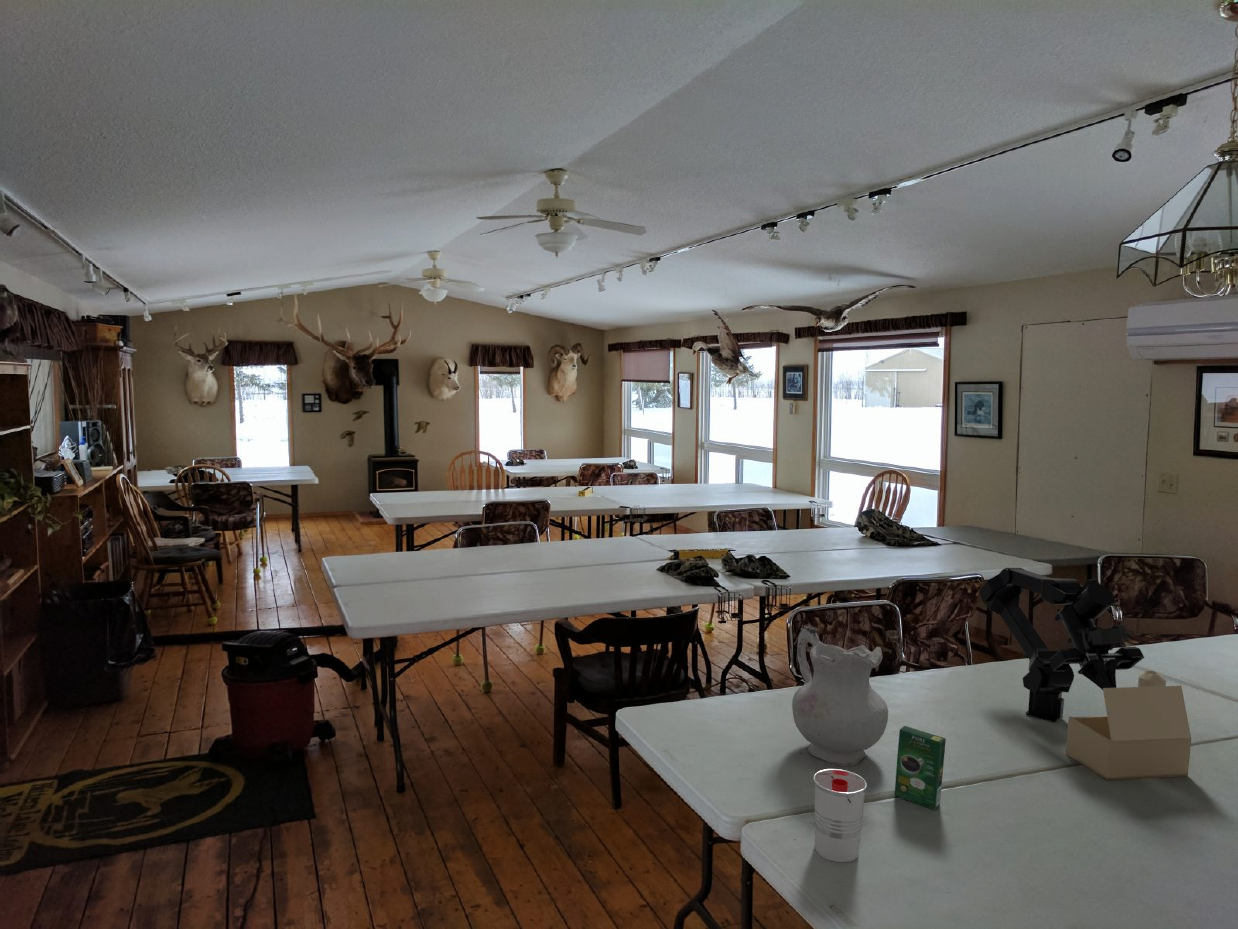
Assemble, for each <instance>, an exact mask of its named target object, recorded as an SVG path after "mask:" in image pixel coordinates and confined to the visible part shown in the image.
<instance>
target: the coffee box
mask: <svg viewBox="0 0 1238 929" xmlns="http://www.w3.org/2000/svg"><path fill="white" fill-rule="evenodd" d="M946 740H947V739H946V737H942V736H939V735H935V734H934V733H929V732H926V731H924V730H920V729H917V728H913V727H911V726H909V725H908V726H907V725H903V726H902V727H901V728H899V732H898V746H897V756H896V757H897V758H896V771H895V782H894V783H895V784H894V793H893V794H894V796H895V797H898V798H900V799H902V800H907V801H910V802H912V803H915V804H918V805H920V806H923V807H925V808H929V809H933V810H934V811H936V810H937V809H938V808H939V806H941V796H942V786H943V773H944V764H945V763H944V761H945V752H946Z"/></svg>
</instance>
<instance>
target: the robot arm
mask: <svg viewBox="0 0 1238 929" xmlns="http://www.w3.org/2000/svg"><path fill="white" fill-rule="evenodd" d="M1024 590H1027V591H1030V592H1034V593H1036V594H1038V595H1040V598H1041V600H1043V601H1045V602H1047V603H1048V604H1049V605H1053V606H1057V605H1060V606H1061V605H1064V606H1063V607H1062V608H1058V609H1056V610H1057V611H1056V614H1055V615H1054V622H1062V624H1063V625H1064V627H1065V629H1066V632H1067V634H1068V639H1067V641H1066V642H1067V643H1068V645H1073V646H1074V647H1073V648H1070V647H1069V648H1060V649H1057V650H1055V649H1054V650H1050V648H1048V646H1047V645H1046V643H1045V641H1044V640H1043V638H1042V637H1041V635H1040V634H1039V633H1038V632H1037V630H1036V629H1035V627H1034V626H1033V624H1032V623H1031V621H1030V620H1029V618H1028V617H1027V616H1026V614H1025V613H1024V611H1023V610H1022V608H1021V607H1020V604H1021V595H1022V594H1023V592H1024ZM979 597H980V599H981V601H982V602H983V604H984V605H985V606H986V608H987V610H989V611H991V612H992V613H994V614H996V615H998V616H1000V617H1001V618H1002V620H1003V621H1004V623H1005V625H1006V626H1007V627H1008V629H1009V631H1010V632H1011V633H1012V635H1013V636H1014V638H1015V640H1016V641H1017V643H1018V644H1019V645H1020V647H1021V649H1022V650H1023V652H1024V653H1025V655H1026V656H1027V658H1028V659H1029V660H1028V661H1029V662H1028V663H1029V664H1028V672H1027V673H1026V674H1025V675H1024V676H1023V677H1022V685H1023V687H1024V688H1025V689H1027V690H1029V693H1028V694H1029V695H1028V706H1027V707H1028V709H1027V711H1025V715H1026V716H1029V717H1033V718H1036V719H1040V720H1041V719H1042V720H1045V721H1050V722H1052V723H1056V722H1057V721H1058V720H1059V719H1060V718H1062V717H1063V716H1064V705H1065V699H1064V697H1062V695H1063V693H1069V692H1070V690H1071V687H1072V684H1073V682H1074V678H1075V673H1074V671H1073V668H1072V666H1071V665H1072V664H1074V665H1076V664H1077V665H1079V667H1080V669H1078V671H1077V673H1078V674H1079V675H1082V676H1084V677H1085V678H1087V679H1088V680H1089V681H1090V682H1092V683H1094V685H1096V686H1097V687H1098V688H1099V689H1100V690H1102V691H1103V688H1117V679H1116V677H1117V676H1116V675H1117V674H1116V673H1117V671H1116V670H1118V671H1119V670H1120V671H1122V670H1124V671H1125V670H1130V669H1132V668H1133V667H1135V666H1136V665H1137V664H1138V663H1140V662H1141V661H1142V660H1143V659H1145V656H1144V654H1143V652H1142V650H1141V649H1140V648H1139V647H1137V646H1121V647H1120V648H1118V649H1117V650H1116V651H1115V652H1113V653H1111V652H1110V653H1109V651H1112V650H1114V648H1115V646H1116V645H1118V644H1120V645H1124V644H1125V641H1127V640H1129V639H1130V633H1129V631H1128V629H1127V628H1126V626H1125V625H1124V624H1117V625H1113V626H1111V628H1102V626H1099V627H1097V626H1096V624H1095V622H1094V620H1095V619H1097V618H1099V617H1101V615H1103V614H1104V613H1105V612H1106V611H1107V610H1108V609H1109V608H1110V607H1112V605H1114V603H1115V599H1116V598H1115V594H1114V593H1113V591H1111V589H1109V588H1108V587H1107V586H1105V585H1103V584H1100V583H1099V581H1098V579H1087V580H1086V581H1085V583H1084V585H1082V584H1081V582H1080V581H1079V580H1078V579H1075V578H1053V577H1049V576H1046V575H1043V574H1039V573H1035V572H1033V571H1029V570H1026V569H1025V568H1022V567H1004V568H1003V569H1001V571H1000V572H999V573H998V574H996V575H995V576H993V577H991V578H988V580H987V581H986V582H985V583H984V584H983V585H982V587H981V588H980V590H979ZM1114 645H1115V646H1114Z"/></svg>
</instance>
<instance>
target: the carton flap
mask: <svg viewBox="0 0 1238 929" xmlns="http://www.w3.org/2000/svg"><path fill="white" fill-rule="evenodd" d="M1102 692H1103V698H1104V703H1105V710H1106V711H1105V712H1106V716H1107V717H1108V723H1109V729H1110V735H1111V741H1128V740H1151V739H1173V738H1191V739H1192V735H1191V730H1190V726H1189V725H1190V724H1189V719H1188V713H1187V708H1186V702H1185V698H1184V693H1183V692H1184V691H1183V688H1182V685H1166V686H1154V687H1138V686H1127V687H1126V686H1125V687H1116V688H1103V690H1102Z"/></svg>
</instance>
